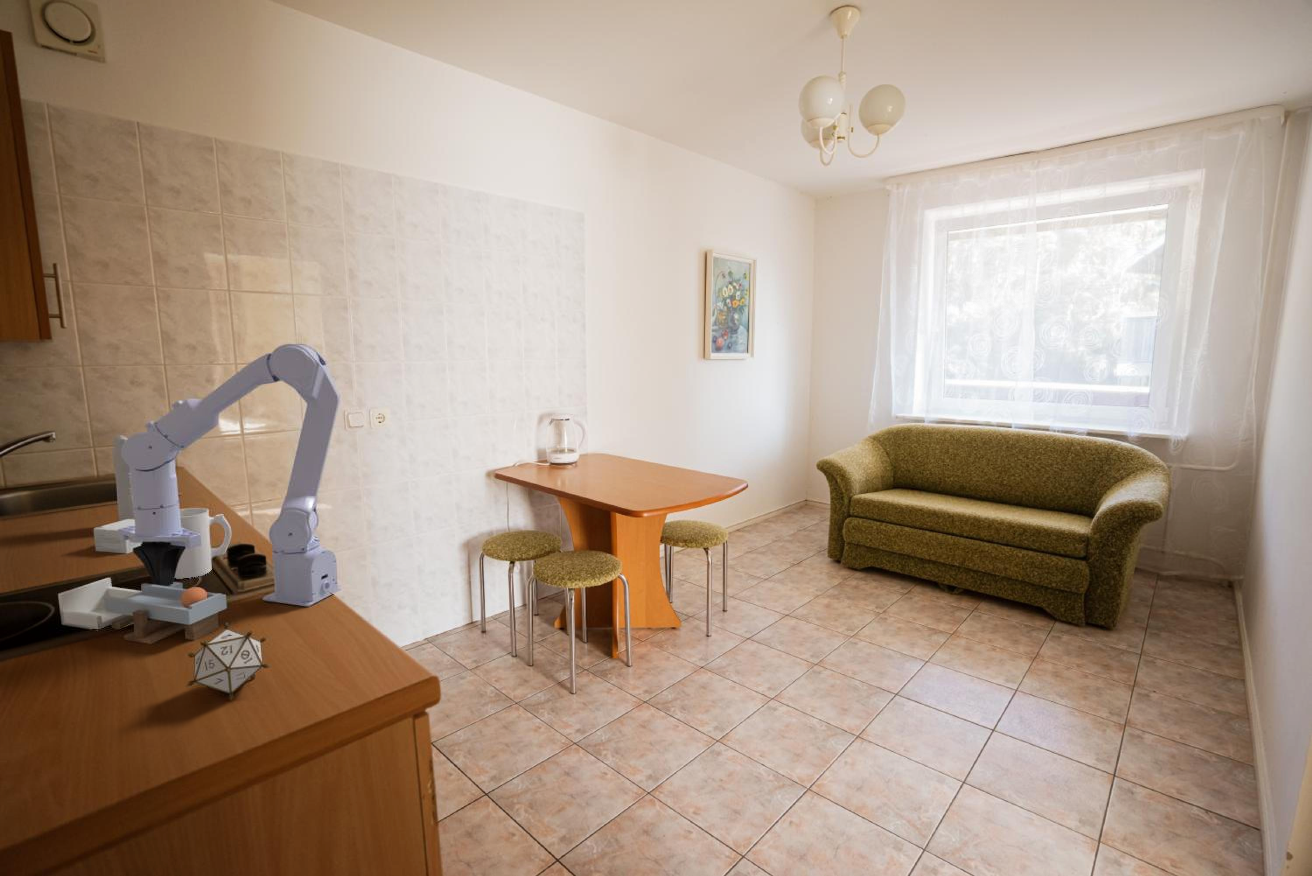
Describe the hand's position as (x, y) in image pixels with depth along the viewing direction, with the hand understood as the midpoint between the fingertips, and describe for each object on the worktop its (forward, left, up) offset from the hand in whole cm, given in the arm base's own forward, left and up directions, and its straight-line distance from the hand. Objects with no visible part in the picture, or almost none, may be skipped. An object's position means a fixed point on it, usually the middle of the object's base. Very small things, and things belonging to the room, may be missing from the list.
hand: (164, 585), depth 100 cm
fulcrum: (-7, +5, -4) cm, 9 cm away
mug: (+10, -15, -4) cm, 19 cm away
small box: (+38, -22, -5) cm, 44 cm away
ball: (-12, +5, 0) cm, 13 cm away
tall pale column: (+51, -32, -4) cm, 61 cm away
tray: (+6, +5, -4) cm, 9 cm away
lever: (-7, +3, -1) cm, 7 cm away
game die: (-31, +16, -4) cm, 35 cm away
